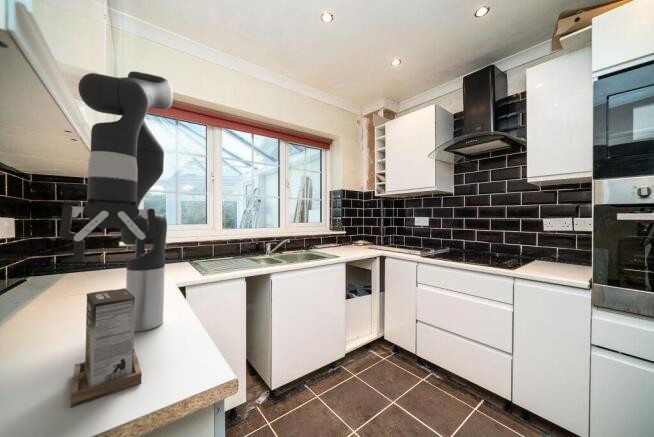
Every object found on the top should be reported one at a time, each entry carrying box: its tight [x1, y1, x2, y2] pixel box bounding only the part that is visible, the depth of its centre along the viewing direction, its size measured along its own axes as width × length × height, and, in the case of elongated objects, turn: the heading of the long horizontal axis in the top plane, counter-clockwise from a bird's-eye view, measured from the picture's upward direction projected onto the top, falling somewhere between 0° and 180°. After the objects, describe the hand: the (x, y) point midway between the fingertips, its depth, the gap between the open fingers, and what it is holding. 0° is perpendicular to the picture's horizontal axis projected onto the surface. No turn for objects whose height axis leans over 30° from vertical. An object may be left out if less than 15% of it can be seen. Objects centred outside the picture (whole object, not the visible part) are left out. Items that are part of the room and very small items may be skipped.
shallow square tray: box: [70, 348, 142, 408], centre depth 49 cm, size 12×10×2 cm
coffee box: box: [84, 287, 135, 388], centre depth 50 cm, size 9×6×16 cm
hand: (111, 258), depth 50 cm, fingers open, 8 cm apart
